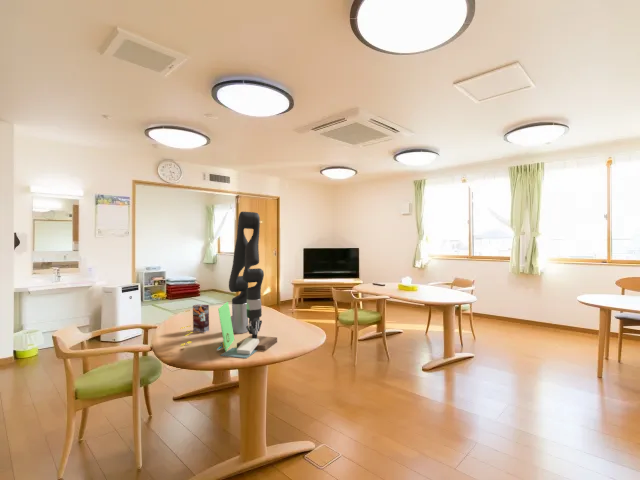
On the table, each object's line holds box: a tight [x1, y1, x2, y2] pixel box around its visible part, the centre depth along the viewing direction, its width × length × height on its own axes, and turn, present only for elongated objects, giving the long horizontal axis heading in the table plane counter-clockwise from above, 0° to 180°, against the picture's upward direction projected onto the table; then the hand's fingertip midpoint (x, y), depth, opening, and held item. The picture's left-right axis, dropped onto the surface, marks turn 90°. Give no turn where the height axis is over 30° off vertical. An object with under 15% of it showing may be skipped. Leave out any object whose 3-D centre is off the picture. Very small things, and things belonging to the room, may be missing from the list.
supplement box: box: [192, 303, 210, 333], centre depth 201 cm, size 9×5×16 cm, turn 68°
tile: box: [236, 337, 259, 354], centre depth 163 cm, size 7×10×2 cm
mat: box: [219, 347, 259, 359], centre depth 161 cm, size 14×11×1 cm
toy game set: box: [180, 301, 235, 353], centre depth 172 cm, size 22×25×24 cm
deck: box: [236, 334, 278, 352], centre depth 173 cm, size 16×14×2 cm
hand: (254, 341), depth 170 cm, fingers closed
